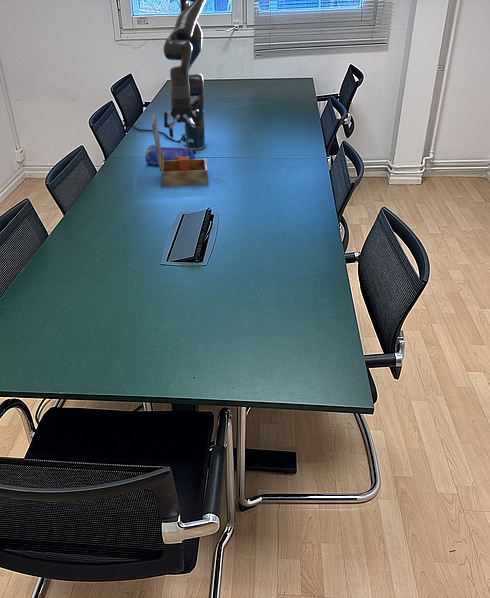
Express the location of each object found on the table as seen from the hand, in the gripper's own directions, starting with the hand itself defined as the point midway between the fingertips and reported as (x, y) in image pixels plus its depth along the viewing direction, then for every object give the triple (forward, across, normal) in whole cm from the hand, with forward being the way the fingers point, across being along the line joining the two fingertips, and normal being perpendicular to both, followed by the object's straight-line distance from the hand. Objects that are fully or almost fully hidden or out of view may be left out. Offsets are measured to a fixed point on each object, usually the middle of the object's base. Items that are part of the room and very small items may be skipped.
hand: (182, 136), depth 222 cm
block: (+17, 0, 0) cm, 17 cm away
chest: (+18, 0, +2) cm, 18 cm away
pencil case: (+18, +6, -15) cm, 25 cm away
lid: (+1, +10, +2) cm, 10 cm away
